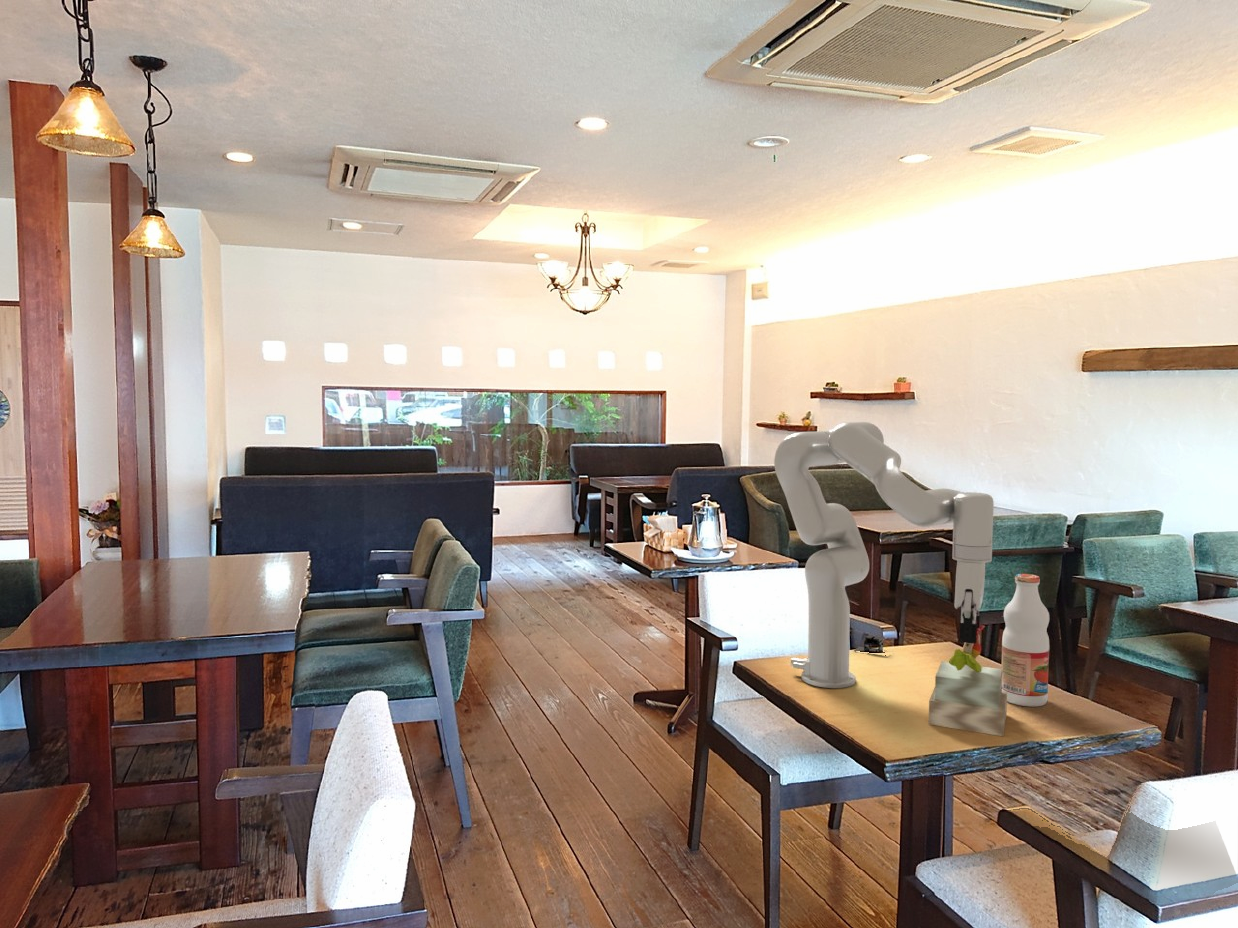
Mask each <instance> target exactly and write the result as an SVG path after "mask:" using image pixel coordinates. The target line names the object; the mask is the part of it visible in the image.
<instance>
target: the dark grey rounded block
mask: <svg viewBox="0 0 1238 928" xmlns="http://www.w3.org/2000/svg"><path fill="white" fill-rule="evenodd" d="M884 644H885V643H884V640H883V636H878V635H871V634H868V635H867V636H865V639H864V640H863V646H858V647H856V648H855V649H853V651H860V652H869V653H885V652H883V650H884ZM869 645H870V646H869ZM872 646H875V647H872ZM877 647H878V648H877ZM885 656H886V655H885Z"/></svg>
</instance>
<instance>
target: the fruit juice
mask: <svg viewBox="0 0 1238 928" xmlns="http://www.w3.org/2000/svg"><path fill="white" fill-rule="evenodd" d="M1014 582H1015V584H1016V587H1015V592H1014V594H1013V597H1012V599H1011V601H1009V602H1008V603H1007V604H1006V605H1005V607H1004V610H1003V620H1004V623H1005V627H1004V629H1003V632H1002V640H1001V668H1000V669H1002V691H1006V692H1007V703H1010V704H1013V705H1017V706H1022V707H1036V708H1037V707H1042V706H1045V705H1047V702H1048V695H1049V689H1048V688H1049V687H1048V686H1049V666H1050V665H1049V664H1050V663H1049V659H1050V639H1049V638H1050V637H1049V635H1048V632H1047V628H1048V627H1049V622H1050V612H1049V611H1048V608H1047V607H1046V606H1045V604H1044V603H1043V602H1042V600H1041V597H1040V593H1039V585H1040V583H1041V578H1040V576H1038V575H1036V574H1030V573H1029V574H1028V573H1017V574H1016V575H1015V576H1014Z"/></svg>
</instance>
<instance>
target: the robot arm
mask: <svg viewBox="0 0 1238 928" xmlns="http://www.w3.org/2000/svg"><path fill="white" fill-rule="evenodd" d="M773 460H774V461H773V462H774V463H773V464H774V470H775V471H774V472H775V474H776V477H777V479H778V482H779V484H780V486H781V489H782V491H783V493H784V496H785V498H786V502H787V505H788V508H789V511H790V513H791V516H792V520H793V523H794V526H795V528H796V531H797V534H798V535H799V536H798V537H799V538H800V540H801V541H802V542H803V543H805V544H806V545H809V546H821V545H824V544H825V545H827V548H825V549H821V550H818V551H816V552H814V553H812V554H811V555H810V556H809V558H808V559H807V561H806V563H805V567H804V575H805V582H806V587H807V595H808V632H807V633H808V635H807V636H808V637H807V638H808V639H807V640H808V641H807V645H808V647H807V648H808V649H807V653H808V655H807V658H804V659H802V658H797V657H791V658H790V666H792V667H793V669H800V670H803V671H802V672H801V677H800V678H801V680H802V681H803V682H805V683H806V684H809V685H811V686H814V687H819V688H825V689H826V688H827V689H842V688H847V687H851V686H854V685H855V684H856V679H857V678H856V675H855V674H854V673H852V672H850V634H851V633H850V630H851V628H850V627H851V626H850V625H851V623H850V621H851V615H850V614H851V611H850V610H851V608H850V607H851V606H850V602H849V601H850V600H849V597H848V595H847V591H846V587H848V586H851V585H854V584H858V583H860V582H862V581H864V579H866V578H867V576H868V574H869V571H870V559H869V556H868V553H867V550H866V547H865V544H864V541H863V538H862V536H861V533H860V529H859V527H858V524H857V522H856V520H855V518H854V516H853V513H852V512H851V511H850V510H849V509H848V508H847V507H846V506H844V505H842V504H840V503H835V502H831V503H830V502H829V503H827V502H826V500H825V497H824V495H823V492H822V489H821V486H820V484H819V482H818V480H817V479H816V478H815V477H814V476H813V474H812V473H811V472H810V470H809V469H810V467H813V468H814V467H823V466H833V465H837V464H843V463H846V465H848V466H849V467H851V468H852V469H854V470H855V471H856V472H857V473H859V474H860V475H862V476H863V477H864V478H866V479H867V480H868V481H870V482H871V483H872V484H873V485H874V486H875V489H876V491H877V493H878V495H879V496H880V497H881V499H882V501H883V502H884V503H885V504H886V505H887V506H888V507H890V508H891V510H893V511H894V512H895V513H896V514H898V515H899V516H901V517H902V518H904V520H906V521H908V522H909V523H911V524H913V525H915V526H918V527H922V528H929V527H934V526H939V525H947V524H952V551H951V552H952V555H951V556H952V559H953V561H954V560H955V561H957V562H956V570H955V587H954V589H955V590H954V591H955V592H954V608H955V610H957V609H958V608H960V607H961V611H960V612H961V615H960V622H959V634H958V635H959V642H960V643H973V644H975V643H976V641H977V628H979V627H980V626H981V625H980V622H981V621H980V620H981V616H980V609H981V606H982V604H983V600H984V592H985V580H986V579H985V577H986V564H987V563H992V562H993V533H994V503H995V502H994V498H993V497H992V496H991V495H990V494H988V493H984V492H971V491H970V492H968V491H967V492H963V491H960V490H959V491H958V490H955V489H950V488H936V489H928V490H925V489H923V488H921V487H920V486H918V485H917V484H915V483H914V482H912V481H911V480H910V479H909V478H908V477H906V475H904V473H903V472H902V471H901V470H900V468H901V465H902V458H901V456H900V454H899V453H898V452H897V451H895V450H894V449H892V448H891V447H889V446H888V445H886V444H885V439H884V434H883V432H882V431H881V430H880V428H879V427H878V426H877V425H875V424H873V423H871V422H867V421H859V422H858V421H856V422H855V421H854V422H853V421H852V422H851V421H850V422H843V423H841V424H838V425H836V426H835V427H834V428H833V429H830V430H826V431H825V430H824V431H823V430H822V431H821V430H820V431H800V432H799V431H798V432H795V433H792V434H790V435H787V436H786V437H784V438H783V439H782V440H781V442H780V443H779V444H778V446H777V448H776V451H775V454H774V459H773ZM976 622H977V624H976Z"/></svg>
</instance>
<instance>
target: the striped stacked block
mask: <svg viewBox="0 0 1238 928" xmlns="http://www.w3.org/2000/svg"><path fill="white" fill-rule="evenodd" d="M981 667H982V671H981V672H975V671H974V670H973V669H971V668H970V667H968V666H967V665H965V666H964V667H963V668H962V669H961V670H957V668H956V666H953V665H951V664H950V663H949V661H941V662H940V664H939V667H938V669H937V672H936V674H935V676H934V677H935V679H934V680H935V684H934V688H933V690H932V693H931V695H930V697H929V700H928V725H930V726H931V725H932V726H935V727H943V728H950V729H956V730H960V731H969V732H974V733H979V734H980V733H981V734H985V735H987V734H988V735H993V736H1001V737H1004V736H1005V735H1004V733H1005V728H1006V721H1007V720H1006V719H1007V706H1008V705H1007V704H1008V702H1007V692H1006V691H1002V669H1001V668H996V667H988V666H981Z"/></svg>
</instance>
